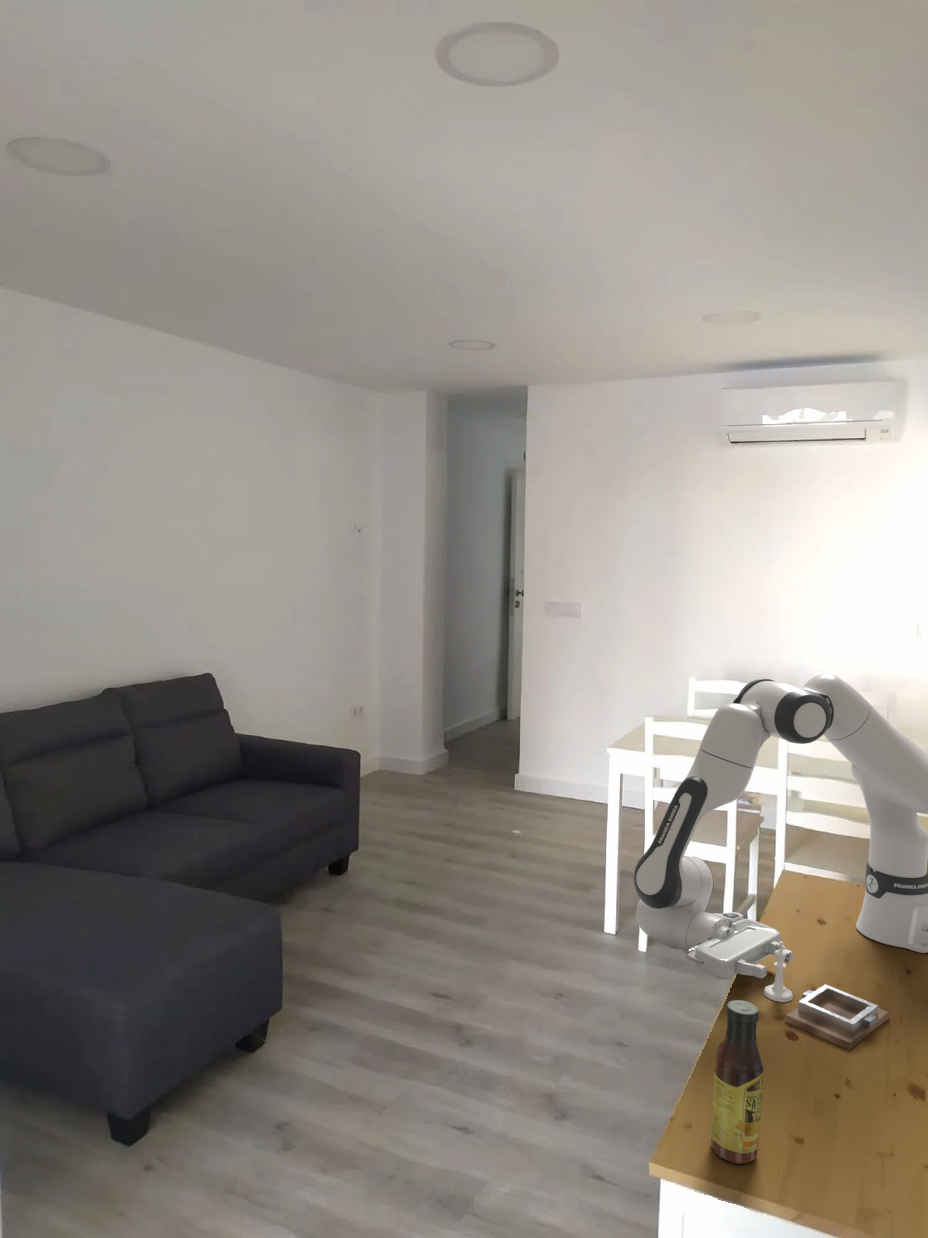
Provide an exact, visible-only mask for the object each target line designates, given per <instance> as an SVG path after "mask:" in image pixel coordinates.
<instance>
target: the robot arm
mask: <svg viewBox="0 0 928 1238" xmlns="http://www.w3.org/2000/svg"><path fill="white" fill-rule="evenodd" d="M822 736H824V737H825V738H826V739H827V741H829V743H830V744H831V745H833V746H834V748H835V749H836V750H838V752H839V753H841V755H842V756H843V757H844V758H845V759H846V760H847V761H849V763H851V774H852V777H853V779H854V780H855V781H856V783H857V785H858V786H859V788H860V791H861V793H862V796H863V800H864V803H865V807H866V812H867V815H868V822H869V832H870V833H869V853H868V861H867V863H866V868H865V877H864V879H865V891H864V893H865V894H864V899H863V902H862V907H861V910H860V913H859V915H858V918H857V921H856V924H855V928H856V929H857V930H858V932H860V934H861V935H863V936H865V937H867V938H868V939H871V940H874V941H876V942H878V943H881V944H884V945H889V946H891V947H892V946H893V947H898V948H904V949H907V950H910V951H914V952H916V953H921V954H926V953H928V832H927V830H926V828H925V827H924V826H923V825H922V823H921V820H920V818H919V815H918V814H921V815H922V814H923V815H926V816H927V815H928V753H926V752H925V751H924V750H923V749H922V748H921V747H920V746H919V745H917V744H916V743H914V742H913V741H911V739H909V738H907V736H905V735H904V734H902V733H901V732H900V731H899V730H897V729H896V728H895V727H893V726H892V725H891V724H890V723H889V722H888V721H887V720H886V719H885V718H884V716H882V715H881V714H880V712H878V711H877V710H876V709H875V707H874V706H873V705H871V703H869V701H868V700H867V699H866V698H865V697H864V696H863V695H862V694H860V692H858V691H857V689H855V688H854V687H852V686H851V685H850V684H849V683H847V682H846V681H844V680H843V679H842V678H840V677H838V676H837V675H835V674H831V673H822V674H817V675H815V676H813V677H811V678H810V679H808V680H807V681H806V682H805V683H804V685H803V686H802V687H801V686H797V685H794V684H791V683H788V682H781V681H776V680H773V679H770V678H761V679H755V680H752V681H750V682H748V683H747V684H745V686H744V687H743V688H742V689H741V690H740V692H739V693H738V695H737V697H735V699H734V700H733V702H732V703H731V702H730V703H726V704H724V705H721V706H720V707H719V708H718V709H717V710H716V711H715V713H714V715H713V717H712V719H711V720H710V722H709V725H708V726H707V728H706V730H705V733H704V735H703V737H702V740H701V742H700V744H699V745H700V746H699V748H698V752H697V754H696V756H695V759H694V761H693V763H692V765H691V767H690V770H689V771H688V773H687V776H686V777H685V778H684V780H683V781H682V782H681V783H680V785H679V786H678V788H677V789H676V791H675V793H674V795H673V796H672V797H673V798H672V799H671V801H670V803H669V806H668V808H667V809H666V812H665V814H664V816H663V819H662V820H661V824H660V825H659V827H658V829H657V832H656V834H655V836H654V838H653V840H652V841H651V842H652V843H651V844H650V846H649V848H648V849H647V850H646V851H645V853H644V854H643V855H642V856H641V857H640V858H639V860H638V861H637V863H636V865H635V868H634V871H633V885H634V890H635V891H636V894H637V896H638V898H639V901H638V903H637V906H636V915H635V917H636V922H637V925H638V926H639V928H640V930H641V931H642V932H643V933H644V934H645V935H647V936H649V937H650V938H652V939H653V940H655V941H656V942H659V943H660V944H663V945H665V946H667V947H670V948H672V949H676V950H677V949H678V950H681V951H684V952H685V957H686V959H687V960H689V961H691V962H693V963H694V964H695V966H696V967H697V968H698V969H699V970H701V971H703V972H705V973H707V974H709V975H710V976H712V977H714V978H716V979H719V980H728V979H730V978H733V977H734V976H736V975H738V974H739V975H743V976H752V977H756V978H758V979H763V978H765V977H766V976H767V975H768V974H767V973H768V969H767V967H766V966H764V965H762V964H761V963H760V962H761V961H762V960H763V961H764V959H766V958H767V957H770V956H771V955H772V956H776V955H775V951H776V950H779V947H778V946H777V943H779V944H780V942H781V941H782V939H781V937H782V936H781V932H780V931H778V930H777V929H776V928H774V927H771V926H770V925H767V924H764V923H762V922H759V921H756V920H753V919H748V918H744V915H743V914H742V913H739V912H736V911H735V912H733V911H732V912H725V913H715V912H714V913H710V912H707V909H708V905H709V903H710V901H711V897H712V893H713V890H714V885H715V884H714V882H715V880H714V875H713V872H712V870H711V868H710V866H709V865H708V864H707V863H706V861H704V860H703V859H701V858H699V857H698V856H697V857H696V856H688V855H685V853H686V851H687V849H688V847H689V845H690V843H691V841H692V837H693V836H694V833H695V831H696V829H697V827H698V825H699V824H700V822H701V821H702V819H703V818H704V817H705V816H706V815H708V814H709V813H711V812H712V811H714V810H716V809H718V808H720V807H723V806H725V805H727V804H731V803H732V802H734V801H736V800H739V798H740V797H741V796H742V795H743V793H744V792H745V790H746V788H747V786H748V785H749V782H750V781H751V779H752V775H753V772H754V768H755V765H756V762H757V760H758V756H759V752H760V750H761V748H762V746H763V745H764V744H765V742H767V740H769V739H770V738H771V737H773V738H777V739H781V740H784V741H786V742H789V743H792V744H796V745H797V744H800V745H805V744H811V743H813V742H815V741H817V740H818V739H820V738H822ZM783 951H785V952H786V953H787V955H786V957H785V959H784V962H785V963H790V962H792V961H793V960H794V952H793V951H791V950H790V949H787V948H786V949H785V950H783Z"/></svg>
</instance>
